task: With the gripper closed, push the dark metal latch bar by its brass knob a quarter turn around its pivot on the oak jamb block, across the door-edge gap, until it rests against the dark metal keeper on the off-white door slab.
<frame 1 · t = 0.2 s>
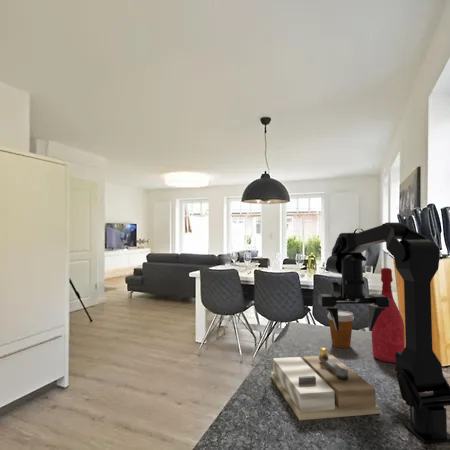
hand: (353, 330, 95), 14 cm above the countertop, tool pointing down, fingers open, 9 cm apart
door and jamb: (318, 393, 86), on the countertop
wine bottle: (388, 359, 110), on the countertop
latch bar: (332, 362, 87), point 8 cm above the countertop, hinge at 0.0°
disposable coffee cup: (341, 345, 124), on the countertop
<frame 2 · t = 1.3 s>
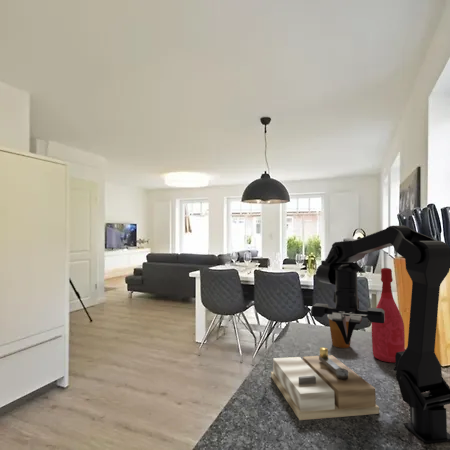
hand: (347, 344, 91), 11 cm above the countertop, tool pointing down, fingers closed
nothing on the countertop moved.
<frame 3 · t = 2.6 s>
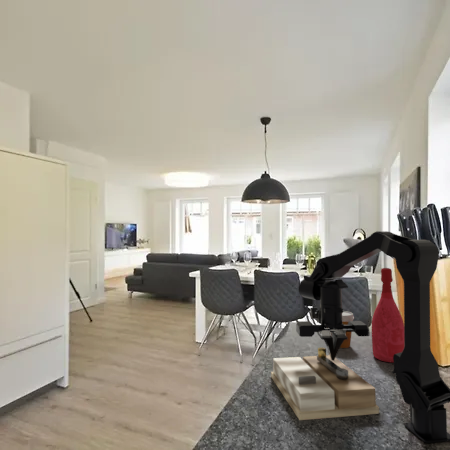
hand: (332, 359, 92), 6 cm above the countertop, tool pointing down, fingers closed
latch bar: (331, 362, 87), point 8 cm above the countertop, hinge at 2.9°, touching gripper
everything else where it was.
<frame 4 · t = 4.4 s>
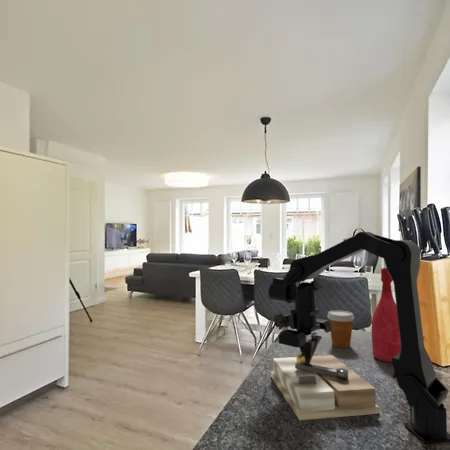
hand: (307, 363, 89), 6 cm above the countertop, tool pointing down, fingers closed
latch bar: (321, 365, 85), point 8 cm above the countertop, hinge at 51.0°, touching gripper
everything else where it was.
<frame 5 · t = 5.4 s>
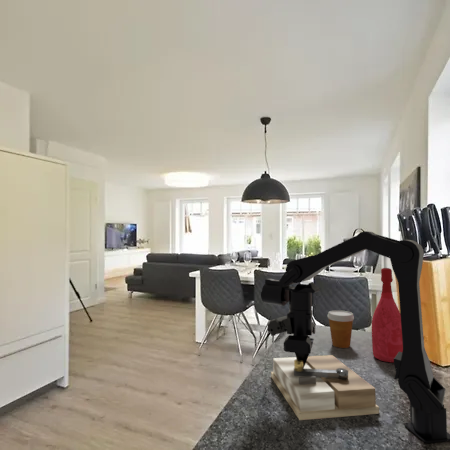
hand: (301, 368, 86), 6 cm above the countertop, tool pointing down, fingers closed
latch bar: (320, 368, 83), point 8 cm above the countertop, hinge at 74.6°, touching gripper
everything else where it was.
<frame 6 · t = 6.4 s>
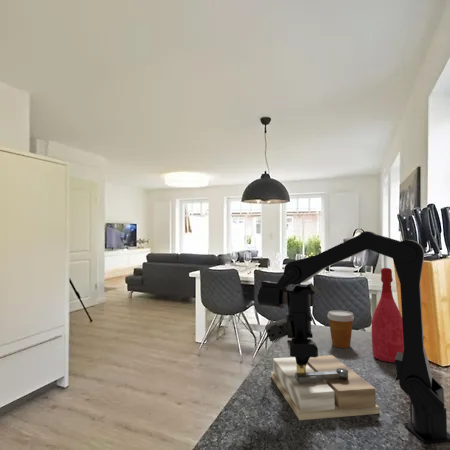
hand: (300, 372, 84), 6 cm above the countertop, tool pointing down, fingers closed
latch bar: (322, 371, 81), point 8 cm above the countertop, hinge at 89.3°, touching door and jamb, gripper
everything else where it was.
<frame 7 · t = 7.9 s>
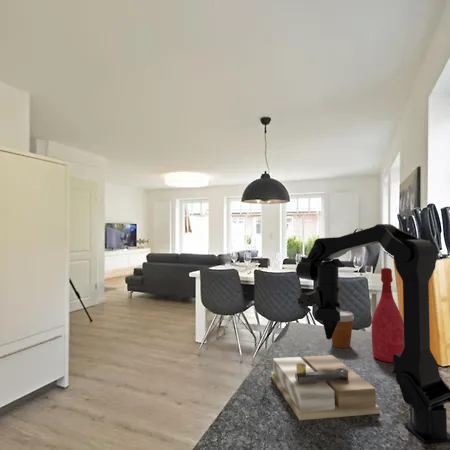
hand: (328, 339, 93), 12 cm above the countertop, tool pointing down, fingers closed
latch bar: (322, 371, 81), point 8 cm above the countertop, hinge at 89.3°, touching door and jamb
everything else where it was.
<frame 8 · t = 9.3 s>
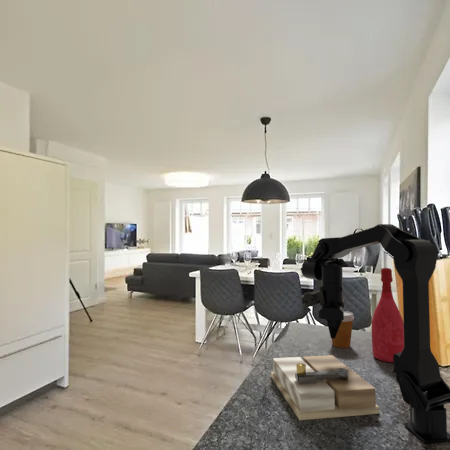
hand: (332, 338, 94), 12 cm above the countertop, tool pointing down, fingers closed
nothing on the countertop moved.
at the end: latch bar at +89° (first picture: +0°) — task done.
